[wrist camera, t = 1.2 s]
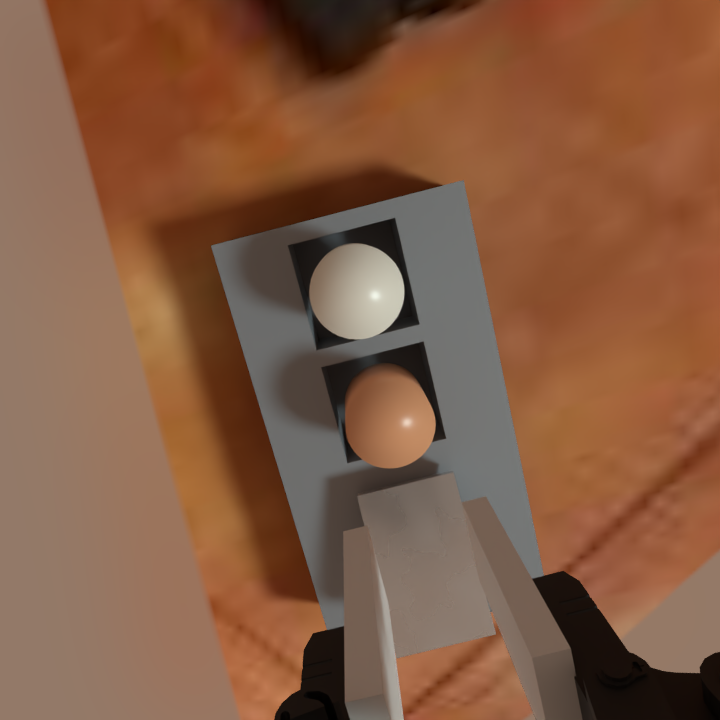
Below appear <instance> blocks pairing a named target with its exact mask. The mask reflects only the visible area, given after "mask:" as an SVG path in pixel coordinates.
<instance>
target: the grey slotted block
mask: <svg viewBox="0 0 720 720" xmlns="http://www.w3.org/2000/svg"><path fill="white" fill-rule="evenodd" d="M349 243H361V244H366V245H369V246H372V247H374V248H377V249H379V250H381V251H382V252H384V253H385V254H387V255H388V256H389V257H390V258H391V259H392V260H393V261H394V263H395V264H396V266H397V267H398V269H399V271H400V273H401V275H402V279H403V283H404V301H403V305H402V308H401V311H400V313H399V315H398V316H397V318H396V319H395V321H394V322H393V323H392V324H391V325H390V326H389V327H388V328H387V329H386V330H385V331H383V332H381V333H380V334H378V335H376V336H373V337H370V338H366V339H348V338H343V337H340V336H338V335H336V334H334V333H332V332H331V331H329V330H328V329H327V328H325V327H324V326H323V325H322V324H321V322H320V321H319V320H318V318H317V317H316V315H315V313H314V311H313V309H312V306H311V302H310V295H309V289H310V282H311V278H312V275H313V272H314V270H315V268H316V267H317V265H318V264H319V262H320V261H321V260H322V259H323V257H324V256H325V255H326V254H327V253H329V252H330V251H331V250H333V249H334V248H336V247H338V246H341V245H344V244H349ZM211 248H212V251H213V254H214V257H215V261H216V264H217V267H218V271H219V274H220V277H221V281H222V284H223V287H224V291H225V294H226V297H227V300H228V304H229V307H230V310H231V314H232V317H233V320H234V324H235V327H236V330H237V333H238V337H239V340H240V343H241V347H242V350H243V353H244V357H245V360H246V363H247V367H248V370H249V373H250V376H251V380H252V383H253V386H254V390H255V393H256V396H257V400H258V403H259V406H260V409H261V413H262V416H263V419H264V423H265V426H266V429H267V433H268V436H269V439H270V443H271V446H272V449H273V452H274V456H275V459H276V462H277V466H278V469H279V472H280V476H281V479H282V482H283V485H284V489H285V492H286V495H287V499H288V502H289V505H290V509H291V512H292V515H293V519H294V522H295V525H296V528H297V532H298V535H299V538H300V542H301V545H302V548H303V552H304V555H305V558H306V561H307V565H308V568H309V571H310V575H311V578H312V581H313V585H314V588H315V591H316V595H317V598H318V601H319V604H320V608H321V611H322V614H323V618H324V621H325V624H326V628H327V630H329V629H333V628H338V627H342V626H344V557H343V531H347V530H351V529H355V528H359V527H363V526H364V523H363V518H362V514H361V510H360V506H359V502H358V498H357V495H358V493H361V492H365V491H369V490H373V489H377V488H381V487H385V486H389V485H393V484H397V483H401V482H405V481H409V480H414V479H418V478H422V477H426V476H430V475H434V474H438V473H442V472H446V471H450V470H451V471H453V472H454V476H455V480H456V484H457V488H458V491H459V495H460V499H461V503H462V502H464V501H468V500H473V499H477V498H481V497H485V496H486V497H487V499H488V501H489V503H490V505H491V506H492V508H493V510H494V512H495V513H496V515H497V517H498V519H499V521H500V522H501V524H502V526H503V528H504V530H505V531H506V533H507V535H508V537H509V539H510V540H511V542H512V544H513V546H514V548H515V549H516V551H517V553H518V555H519V557H520V558H521V560H522V562H523V564H524V565H525V567H526V569H527V571H528V573H529V574H530V576H531V578H532V579H533V578H537V577H541V576H544V574H543V569H542V564H541V559H540V555H539V550H538V545H537V540H536V535H535V530H534V525H533V520H532V515H531V510H530V505H529V500H528V495H527V490H526V486H525V481H524V476H523V471H522V466H521V461H520V456H519V451H518V446H517V441H516V436H515V431H514V426H513V421H512V417H511V412H510V407H509V402H508V397H507V392H506V387H505V382H504V377H503V372H502V367H501V362H500V357H499V352H498V348H497V343H496V338H495V333H494V328H493V323H492V318H491V313H490V308H489V303H488V298H487V293H486V288H485V284H484V279H483V274H482V269H481V264H480V259H479V254H478V249H477V244H476V239H475V234H474V229H473V224H472V219H471V215H470V210H469V205H468V200H467V195H466V190H465V185H464V180H463V181H459V182H455V183H451V184H447V185H443V186H439V187H435V188H432V189H428V190H424V191H420V192H416V193H412V194H408V195H405V196H401V197H397V198H393V199H389V200H385V201H381V202H377V203H374V204H370V205H366V206H362V207H358V208H354V209H350V210H347V211H343V212H339V213H335V214H331V215H327V216H323V217H319V218H316V219H312V220H308V221H304V222H300V223H296V224H292V225H289V226H285V227H281V228H277V229H273V230H269V231H265V232H261V233H258V234H254V235H250V236H246V237H242V238H238V239H234V240H231V241H227V242H223V243H219V244H215V245H211ZM378 363H391V364H396V365H399V366H401V367H403V368H405V369H407V370H408V371H409V372H411V373H412V374H413V375H414V377H415V378H416V379H417V381H418V382H419V384H420V386H421V388H422V390H423V391H424V393H425V395H426V397H427V399H428V401H429V403H430V405H431V407H432V409H433V412H434V415H435V423H436V427H435V434H434V437H433V440H432V442H431V444H430V446H429V448H428V449H427V450H426V452H425V453H424V454H423V455H422V456H421V457H420V458H418V459H417V460H416V461H414V462H412V463H410V464H408V465H406V466H403V467H398V468H381V467H377V466H373V465H371V464H369V463H367V462H365V461H364V460H362V459H361V458H360V457H359V456H358V455H357V454H356V453H355V452H354V451H353V449H352V448H351V446H350V444H349V442H348V439H347V435H346V426H345V395H346V391H347V388H348V386H349V384H350V382H351V380H352V379H353V378H354V377H355V375H356V374H357V373H359V372H360V371H361V370H363V369H364V368H366V367H368V366H371V365H374V364H378ZM462 507H463V506H462ZM486 598H487V597H486ZM487 602H488V600H487ZM488 606H489V609H490V612H492V610H491V607H490V605H489V602H488Z"/></svg>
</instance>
